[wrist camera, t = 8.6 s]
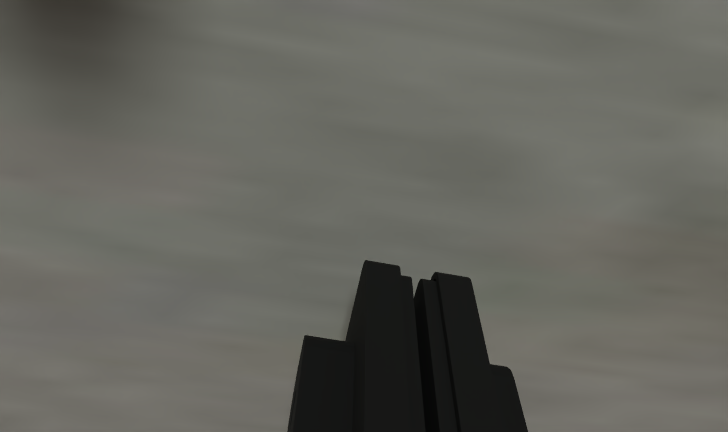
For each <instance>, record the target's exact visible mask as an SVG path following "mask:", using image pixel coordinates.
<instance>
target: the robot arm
mask: <svg viewBox="0 0 728 432" xmlns="http://www.w3.org/2000/svg"><path fill="white" fill-rule="evenodd" d="M288 432H528V430H527V426H526V422H525V418H524V415H523V411H522V407H521V403H520V399H519V395H518V392H517V388H516V384H515V380H514V377H513V374H512V372H511V370H510V369H509V368H508V367H504V366H498V365H492V364H490V363H489V358H488V354H487V349H486V345H485V340H484V336H483V331H482V327H481V322H480V318H479V313H478V309H477V304H476V300H475V295H474V291H473V286H472V282H471V279H470V278H468V277H463V276H457V275H451V274H445V273H439V272H435V273H434V274H433V276H432V278H431V280H426V279H420V281H419V283H418V286H417V289H416V293H415V296H414V297H413V286H412V278H411V277H408V276H402V275H401V272H400V267H399V266H397V265H391V264H385V263H379V262H373V261H367V260H365V262H364V264H363V268H362V272H361V276H360V280H359V285H358V289H357V293H356V298H355V302H354V306H353V311H352V315H351V319H350V323H349V328H348V332H347V336H346V341H339V340H332V339H326V338H320V337H313V336H307V335H305V336H304V340H303V345H302V350H301V355H300V360H299V365H298V371H297V376H296V382H295V387H294V393H293V399H292V405H291V412H290V418H289V425H288Z"/></svg>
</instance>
